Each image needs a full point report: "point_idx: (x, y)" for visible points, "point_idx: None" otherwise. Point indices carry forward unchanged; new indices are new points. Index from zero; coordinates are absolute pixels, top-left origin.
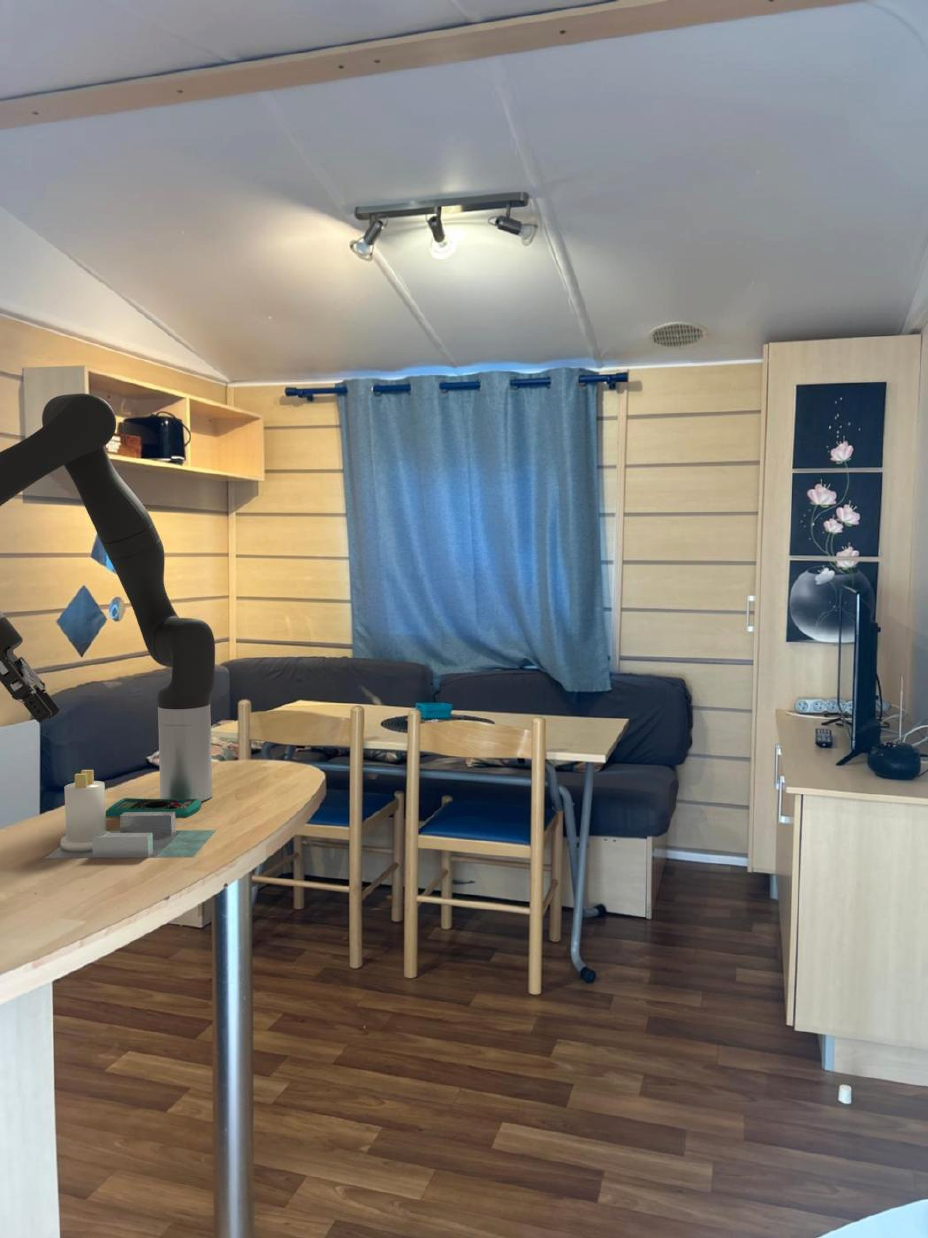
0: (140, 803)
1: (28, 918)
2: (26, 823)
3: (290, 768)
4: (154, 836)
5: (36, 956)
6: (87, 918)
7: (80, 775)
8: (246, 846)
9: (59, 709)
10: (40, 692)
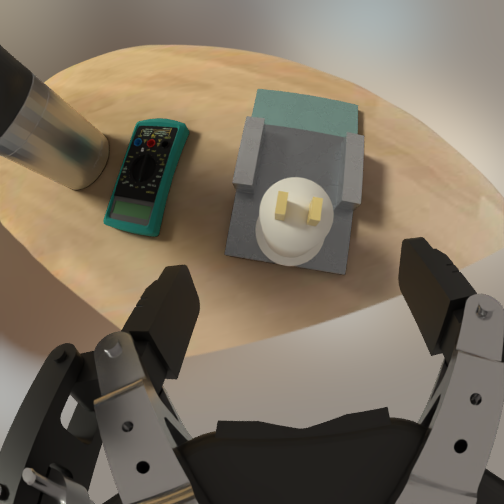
0: (131, 191)
1: (477, 245)
2: None
3: None
4: (271, 149)
5: None
6: (477, 195)
7: (321, 208)
8: (300, 68)
9: (178, 265)
10: (148, 357)
